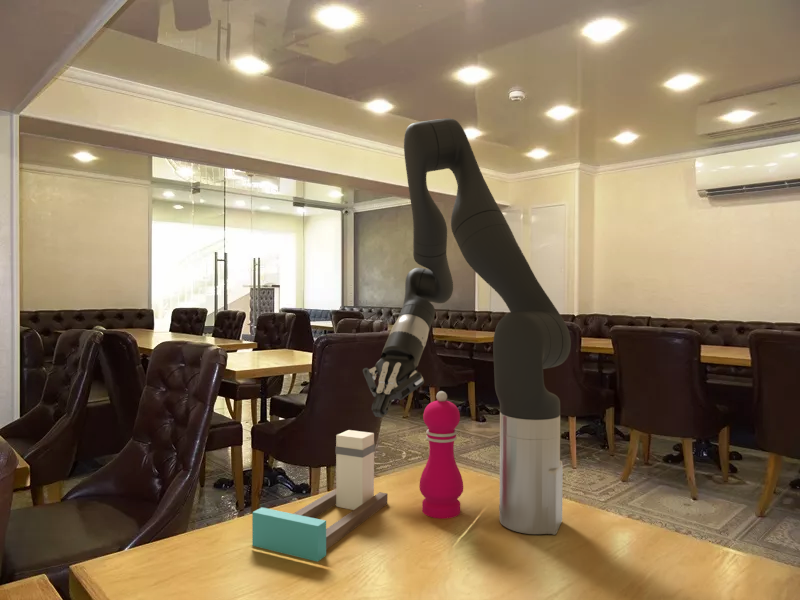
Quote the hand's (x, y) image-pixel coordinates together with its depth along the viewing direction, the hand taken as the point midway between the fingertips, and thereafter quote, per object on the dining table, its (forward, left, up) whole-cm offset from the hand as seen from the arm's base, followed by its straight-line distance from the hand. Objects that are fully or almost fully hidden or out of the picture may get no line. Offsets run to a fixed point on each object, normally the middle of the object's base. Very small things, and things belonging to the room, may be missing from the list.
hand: (377, 414), depth 102 cm
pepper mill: (-14, +4, -14) cm, 21 cm away
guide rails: (0, +16, -14) cm, 22 cm away
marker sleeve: (0, +8, -14) cm, 16 cm away
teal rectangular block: (0, +27, -14) cm, 30 cm away
